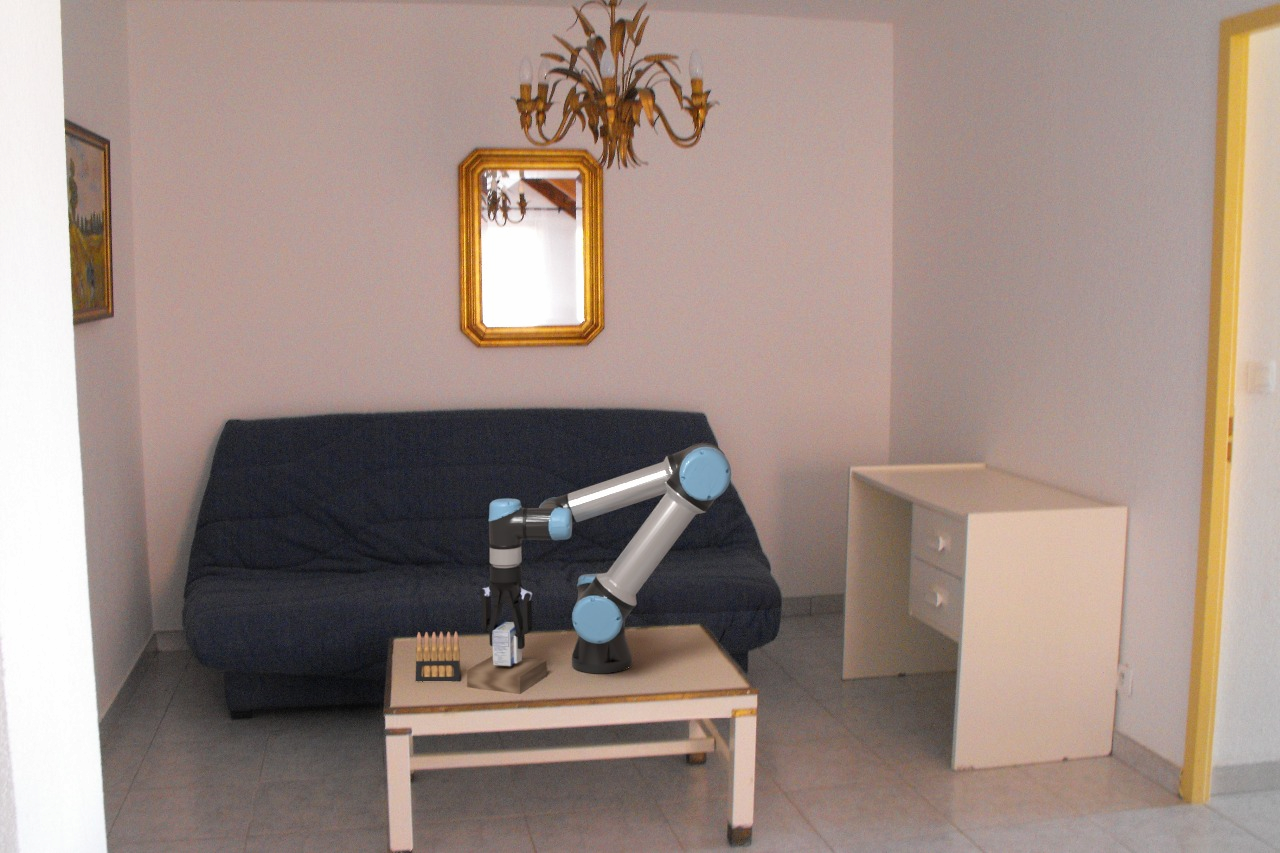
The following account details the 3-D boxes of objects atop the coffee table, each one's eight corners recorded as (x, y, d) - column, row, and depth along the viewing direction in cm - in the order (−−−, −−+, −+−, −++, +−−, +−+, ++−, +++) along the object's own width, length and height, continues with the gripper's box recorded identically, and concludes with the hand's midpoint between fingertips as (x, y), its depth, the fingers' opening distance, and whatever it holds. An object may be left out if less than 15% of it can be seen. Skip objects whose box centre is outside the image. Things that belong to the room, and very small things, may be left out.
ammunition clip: (461, 679, 271) (460, 630, 270) (460, 681, 269) (459, 632, 268) (416, 679, 270) (415, 630, 269) (415, 682, 269) (414, 633, 268)
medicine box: (510, 667, 264) (510, 631, 263) (492, 665, 265) (492, 629, 264) (521, 657, 272) (521, 622, 271) (504, 656, 273) (503, 621, 272)
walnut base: (546, 676, 273) (546, 660, 272) (520, 693, 260) (519, 676, 259) (495, 670, 278) (495, 654, 277) (467, 686, 265) (466, 670, 264)
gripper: (546, 563, 266) (548, 659, 268) (480, 558, 273) (482, 652, 275) (532, 570, 259) (534, 668, 261) (464, 564, 266) (466, 661, 268)
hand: (507, 660), depth 268 cm, fingers closed on medicine box, 5 cm apart
